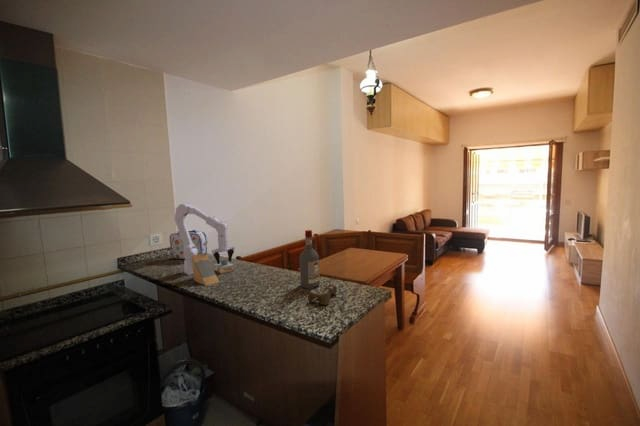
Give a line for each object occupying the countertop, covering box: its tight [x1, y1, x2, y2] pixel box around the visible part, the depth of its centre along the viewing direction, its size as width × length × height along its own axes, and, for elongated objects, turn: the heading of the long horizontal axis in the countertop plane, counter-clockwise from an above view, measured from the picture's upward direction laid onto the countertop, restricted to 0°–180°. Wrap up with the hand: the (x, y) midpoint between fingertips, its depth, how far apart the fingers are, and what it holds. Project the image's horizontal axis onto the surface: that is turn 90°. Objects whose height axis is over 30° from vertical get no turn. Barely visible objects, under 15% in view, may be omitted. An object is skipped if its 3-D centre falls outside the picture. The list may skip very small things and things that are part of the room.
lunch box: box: [169, 229, 209, 260], centre depth 230 cm, size 28×10×22 cm, turn 81°
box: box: [214, 265, 235, 275], centre depth 198 cm, size 10×8×3 cm
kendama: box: [307, 283, 338, 306], centre depth 147 cm, size 6×10×20 cm
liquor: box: [299, 229, 321, 289], centre depth 166 cm, size 9×9×30 cm
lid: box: [214, 259, 235, 269], centre depth 197 cm, size 10×8×3 cm
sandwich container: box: [192, 253, 220, 287], centre depth 178 cm, size 9×15×15 cm, turn 46°
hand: (224, 262), depth 197 cm, fingers open, 7 cm apart
